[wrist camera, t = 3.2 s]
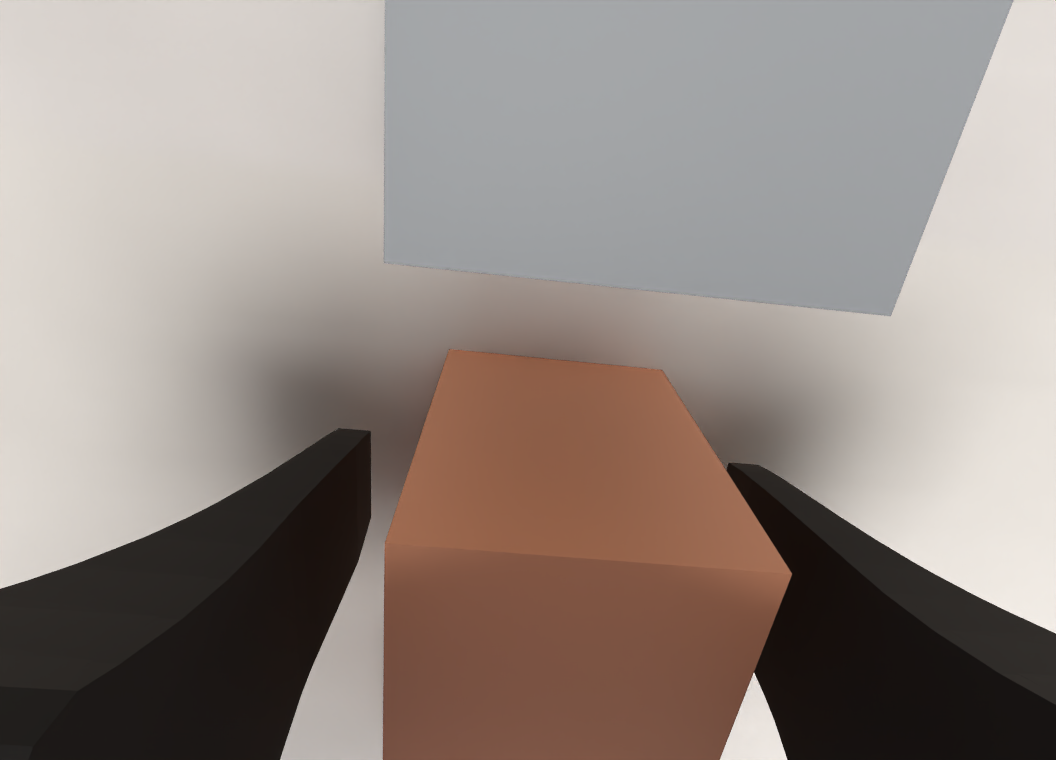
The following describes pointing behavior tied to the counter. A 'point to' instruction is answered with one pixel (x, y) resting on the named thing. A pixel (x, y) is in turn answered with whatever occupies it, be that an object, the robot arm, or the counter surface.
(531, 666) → the terracotta block
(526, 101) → the slate block
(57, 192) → the counter surface
